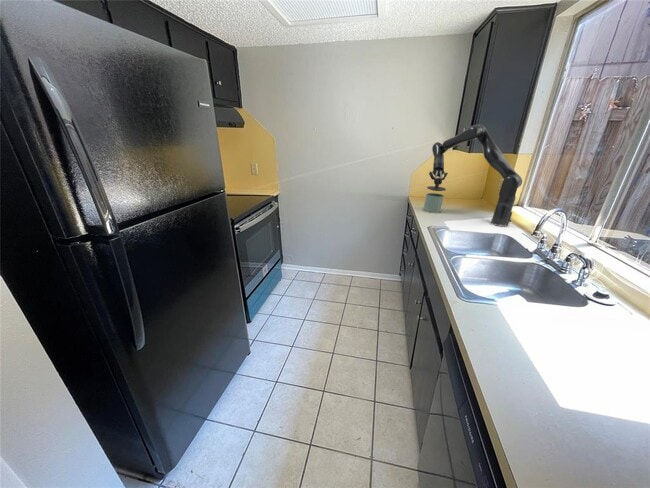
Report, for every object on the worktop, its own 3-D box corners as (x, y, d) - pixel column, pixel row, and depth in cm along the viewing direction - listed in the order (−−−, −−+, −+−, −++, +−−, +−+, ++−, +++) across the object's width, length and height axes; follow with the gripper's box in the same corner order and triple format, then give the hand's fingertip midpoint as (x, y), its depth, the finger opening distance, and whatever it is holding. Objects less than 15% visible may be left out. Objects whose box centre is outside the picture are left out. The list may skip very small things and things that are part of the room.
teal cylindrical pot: (437, 208, 209) (440, 193, 204) (442, 213, 198) (446, 197, 193) (421, 207, 210) (424, 192, 205) (426, 212, 199) (429, 196, 193)
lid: (441, 188, 203) (444, 176, 200) (448, 191, 191) (451, 180, 187) (424, 187, 204) (426, 176, 200) (430, 191, 191) (432, 179, 188)
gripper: (430, 161, 197) (429, 180, 191) (449, 162, 194) (449, 181, 189) (428, 167, 204) (427, 186, 198) (446, 168, 201) (446, 187, 195)
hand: (437, 183), depth 193 cm, fingers closed on lid, 2 cm apart
